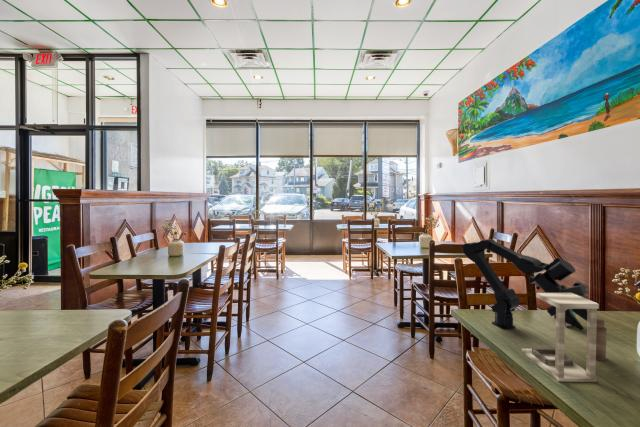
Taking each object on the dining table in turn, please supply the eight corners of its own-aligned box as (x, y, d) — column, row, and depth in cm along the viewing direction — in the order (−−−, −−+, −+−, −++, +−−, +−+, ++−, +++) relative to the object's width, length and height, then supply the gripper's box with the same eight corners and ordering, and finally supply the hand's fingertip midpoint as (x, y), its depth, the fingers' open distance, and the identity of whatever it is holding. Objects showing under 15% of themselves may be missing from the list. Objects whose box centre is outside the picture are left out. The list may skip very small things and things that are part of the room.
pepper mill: (584, 354, 106) (585, 317, 106) (595, 353, 107) (596, 316, 106) (598, 361, 102) (599, 322, 101) (609, 359, 103) (610, 321, 102)
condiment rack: (521, 351, 109) (522, 286, 108) (553, 351, 109) (554, 286, 107) (558, 381, 91) (559, 303, 90) (596, 381, 91) (598, 303, 90)
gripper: (557, 279, 105) (599, 321, 96) (580, 271, 115) (620, 309, 106) (532, 296, 112) (568, 336, 103) (555, 287, 122) (590, 324, 113)
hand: (587, 326), depth 106 cm, fingers open, 9 cm apart
